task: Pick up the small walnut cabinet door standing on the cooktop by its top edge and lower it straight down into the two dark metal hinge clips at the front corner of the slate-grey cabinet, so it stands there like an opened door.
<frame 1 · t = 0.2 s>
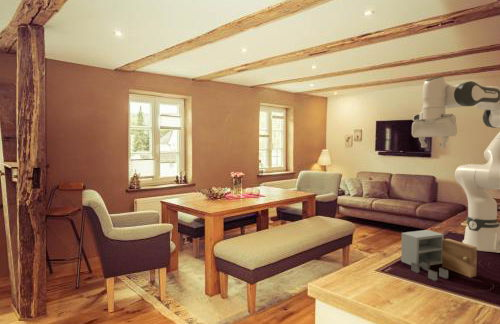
hand: (433, 147, 148), 47 cm above the cooktop, fingers open, 8 cm apart
door: (458, 271, 131), on the cooktop
cabinet: (422, 262, 141), on the cooktop
hinge clips: (429, 274, 128), on the cooktop
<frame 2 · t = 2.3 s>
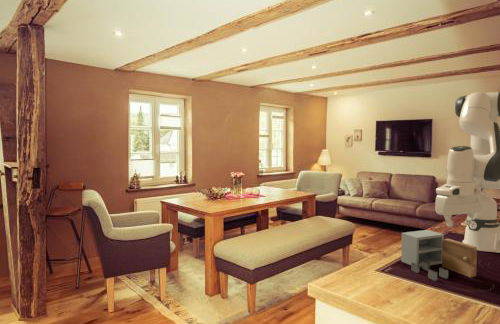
hand: (459, 225, 130), 18 cm above the cooktop, fingers open, 8 cm apart
nothing on the cooktop moved.
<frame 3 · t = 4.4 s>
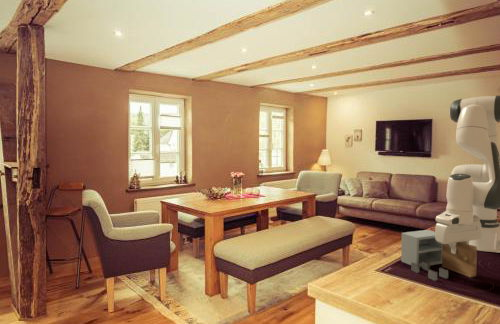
hand: (458, 252, 130), 7 cm above the cooktop, fingers closed on door, 3 cm apart
door: (458, 271, 131), on the cooktop, touching gripper
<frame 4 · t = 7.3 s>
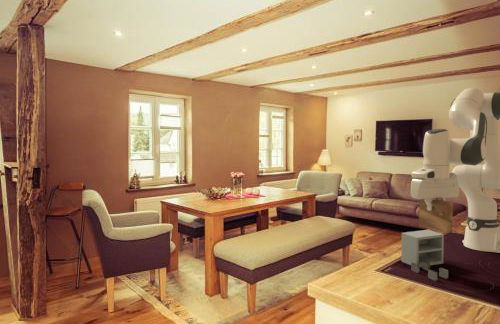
hand: (434, 210, 127), 24 cm above the cooktop, fingers closed on door, 3 cm apart
door: (434, 229, 127), point 17 cm above the cooktop, touching gripper
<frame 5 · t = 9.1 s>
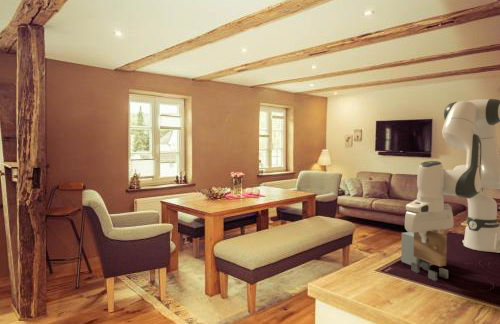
hand: (429, 241, 127), 12 cm above the cooktop, fingers closed on door, 3 cm apart
door: (429, 260, 128), point 5 cm above the cooktop, touching gripper
when the fingers open (8 cm above the cooktop, at t = 10.6 s): door stays where it is, on the cooktop.
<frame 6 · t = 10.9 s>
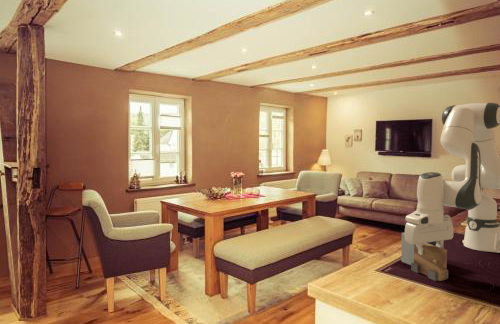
hand: (429, 253, 128), 8 cm above the cooktop, fingers open, 6 cm apart
door: (429, 274, 128), on the cooktop
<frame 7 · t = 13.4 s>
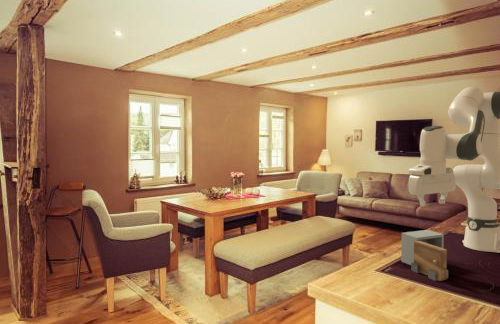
hand: (432, 204, 131), 26 cm above the cooktop, fingers open, 8 cm apart
nothing on the cooktop moved.
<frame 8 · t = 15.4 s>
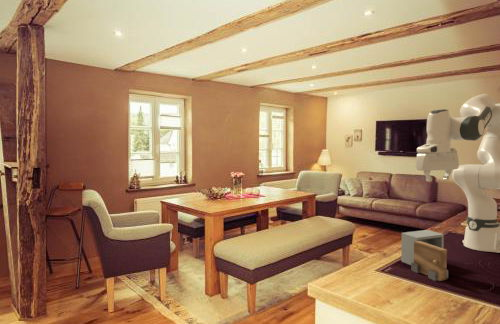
hand: (437, 180, 144), 33 cm above the cooktop, fingers open, 8 cm apart
nothing on the cooktop moved.
at the end: door 0.1 cm off-centre on the hinge clips, point 0.0 cm above the hinge clips's base; door tilted 0°; the gripper is holding nothing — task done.
